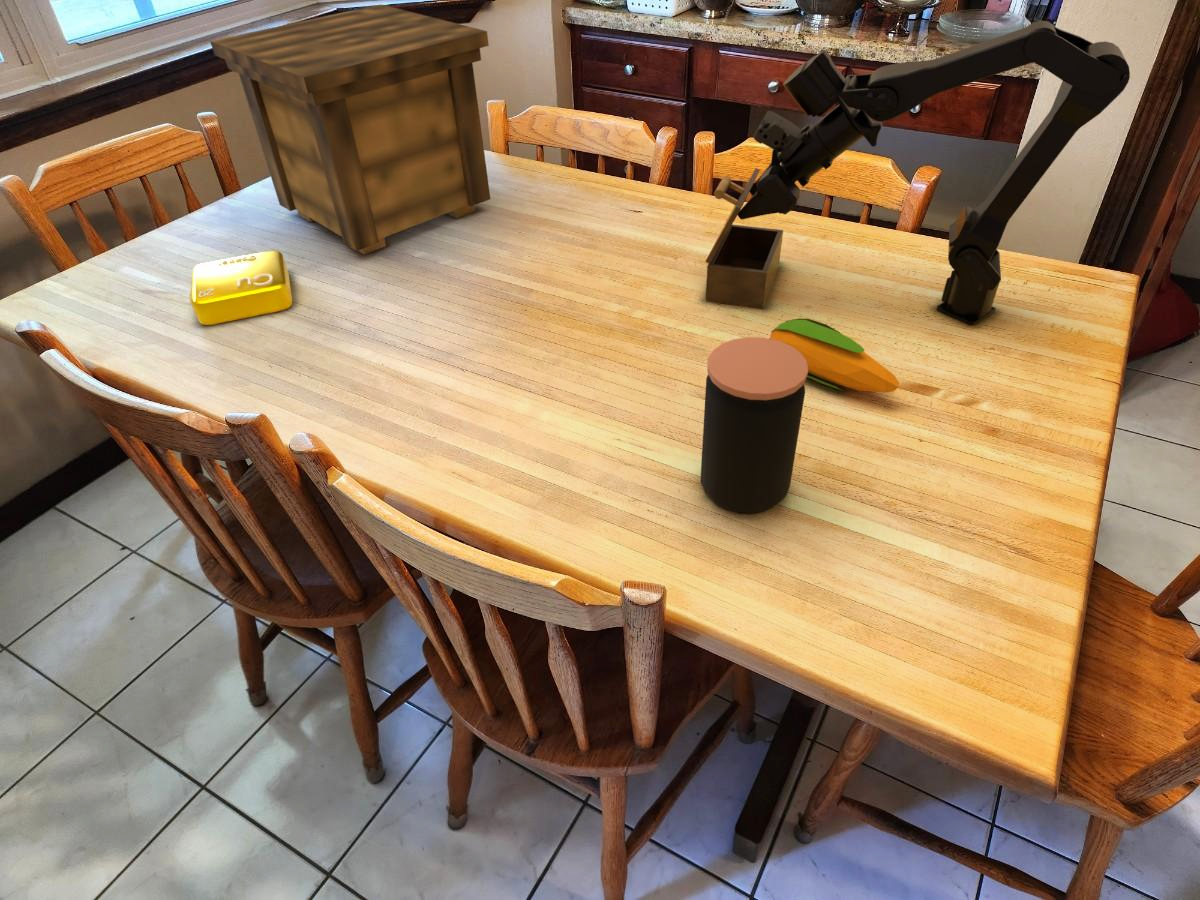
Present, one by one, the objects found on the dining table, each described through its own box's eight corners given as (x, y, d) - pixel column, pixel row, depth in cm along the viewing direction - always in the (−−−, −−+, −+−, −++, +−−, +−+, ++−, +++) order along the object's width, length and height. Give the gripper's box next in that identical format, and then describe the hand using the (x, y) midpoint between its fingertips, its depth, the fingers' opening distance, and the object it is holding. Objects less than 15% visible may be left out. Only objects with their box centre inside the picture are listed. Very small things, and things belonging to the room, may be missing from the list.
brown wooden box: (779, 264, 138) (783, 229, 134) (762, 309, 127) (766, 273, 123) (726, 257, 140) (728, 223, 136) (705, 301, 129) (707, 265, 125)
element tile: (288, 269, 143) (280, 245, 140) (293, 309, 133) (285, 283, 130) (200, 286, 140) (190, 262, 137) (199, 328, 129) (187, 302, 126)
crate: (267, 216, 162) (210, 40, 140) (412, 166, 179) (380, 4, 158) (355, 271, 142) (303, 77, 121) (508, 209, 159) (487, 31, 138)
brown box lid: (760, 170, 129) (734, 156, 129) (740, 209, 118) (712, 194, 118) (730, 222, 136) (706, 209, 136) (709, 264, 125) (683, 249, 125)
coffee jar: (778, 455, 100) (796, 333, 88) (797, 515, 92) (819, 390, 80) (694, 460, 100) (700, 338, 88) (706, 520, 92) (714, 396, 80)
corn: (790, 297, 114) (920, 347, 103) (786, 340, 120) (909, 392, 109) (759, 321, 111) (891, 375, 100) (757, 364, 116) (881, 421, 105)
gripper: (802, 76, 119) (724, 144, 129) (781, 117, 106) (697, 189, 116) (847, 134, 122) (768, 195, 132) (832, 180, 109) (745, 245, 119)
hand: (745, 204), depth 125 cm, fingers open, 9 cm apart
